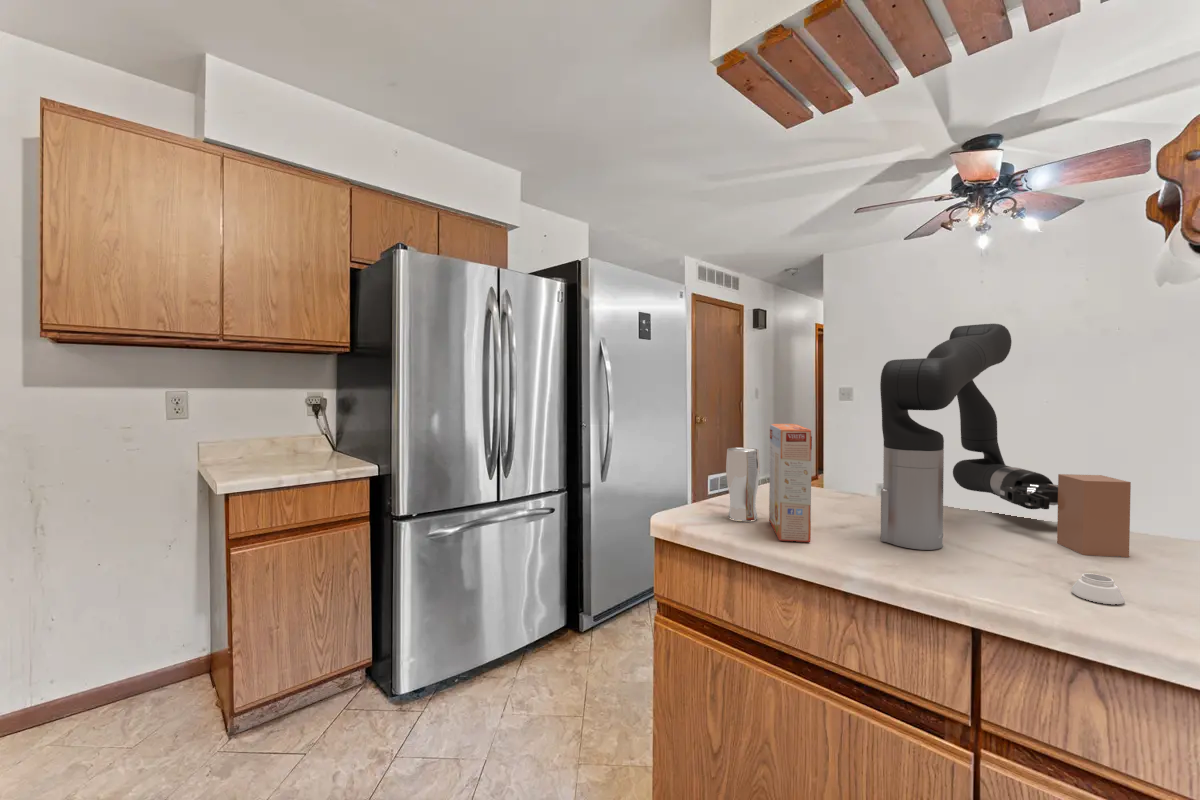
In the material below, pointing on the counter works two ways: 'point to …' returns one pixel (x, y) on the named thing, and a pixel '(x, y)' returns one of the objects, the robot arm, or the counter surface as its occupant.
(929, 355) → the robot arm
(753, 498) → the beer glass
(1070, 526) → the brown rectangular block
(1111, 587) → the lidless jar
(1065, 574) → the counter surface
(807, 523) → the cracker box
